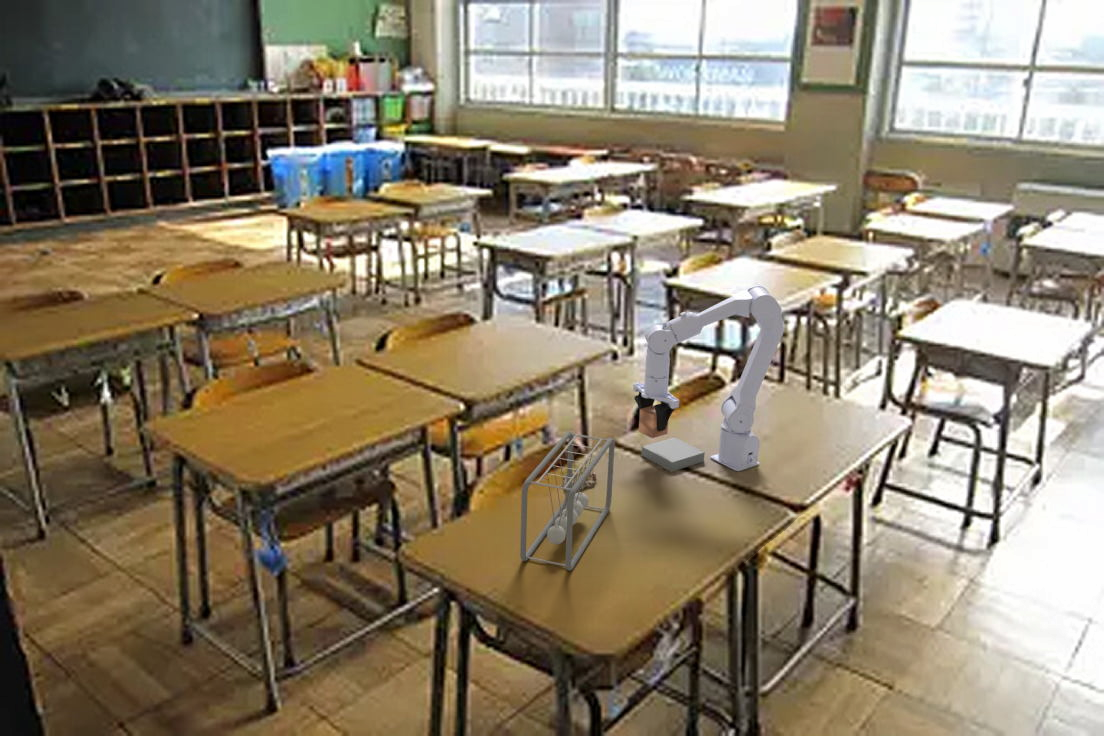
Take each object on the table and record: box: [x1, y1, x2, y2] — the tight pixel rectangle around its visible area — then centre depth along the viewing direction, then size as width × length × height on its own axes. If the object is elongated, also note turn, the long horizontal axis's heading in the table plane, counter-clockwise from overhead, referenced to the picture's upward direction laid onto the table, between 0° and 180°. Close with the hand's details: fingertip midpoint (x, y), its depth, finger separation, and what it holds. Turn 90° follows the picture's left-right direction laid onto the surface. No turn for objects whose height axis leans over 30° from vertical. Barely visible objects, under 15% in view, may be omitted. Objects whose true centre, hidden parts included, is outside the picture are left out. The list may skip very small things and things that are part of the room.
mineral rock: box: [561, 466, 597, 492], centre depth 218 cm, size 11×4×8 cm
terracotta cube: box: [638, 404, 669, 439], centre depth 229 cm, size 5×5×6 cm
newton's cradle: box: [519, 430, 616, 572], centre depth 192 cm, size 30×10×18 cm, turn 161°
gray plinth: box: [641, 436, 705, 472], centre depth 232 cm, size 11×11×2 cm
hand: (653, 426), depth 229 cm, fingers closed on terracotta cube, 5 cm apart
